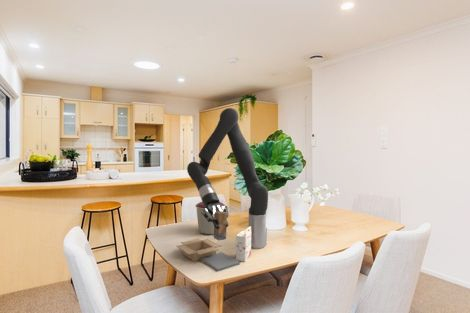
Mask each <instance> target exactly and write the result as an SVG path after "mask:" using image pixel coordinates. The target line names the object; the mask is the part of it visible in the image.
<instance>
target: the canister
mask: <svg viewBox="0 0 470 313" xmlns="http://www.w3.org/2000/svg"><path fill="white" fill-rule="evenodd" d="M219 202H220V204H221V205H222V206H224V207H225V206H226V204H224V203H223V202H222V201H219ZM195 208H196V215H197V216H196V217H197V226H198V231H199V232H200V233H201V234H204V235H214V224H213V222H208V221H207V219H206V218H205V217H204V216H203V214H202V213H201V212H202V211H203V209H206V208H205V206H204V204H203V202H202V201H200V202H198V203H196V204H195ZM222 211H223V210H222ZM209 214H210V213H209Z"/></svg>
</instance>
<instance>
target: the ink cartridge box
mask: <svg viewBox="0 0 470 313" xmlns="http://www.w3.org/2000/svg"><path fill="white" fill-rule="evenodd" d="M248 230H249V231H248ZM251 256H252V247H251V226H250V227H247V228H246V229H245V230H242V231H240V232H239V233H238V234H237V235H236V236H235V260H237V261H239V262H244V263H245V262H247V260H248V259H249V258H250V257H251Z"/></svg>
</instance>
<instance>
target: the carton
mask: <svg viewBox="0 0 470 313" xmlns="http://www.w3.org/2000/svg"><path fill="white" fill-rule="evenodd" d="M180 243H181V244H180V245H176V247H177V249H179V250H180V251H181V253H182V254H183V255H184V256H186V257H187V258H188V259H190V260H192V261H193V262H197V261H201V260H200V258H202V257H206V256H209V255H213V254H216V253H217V251H218V250H219V249H218V248H219V247H222V246H221V245H220V244H219V243H216V242H215V241H213V240H211V239H209V238H206V239H199V238H196V239H195V238H194V239H191V240H186V241H181V242H180Z"/></svg>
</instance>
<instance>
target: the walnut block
mask: <svg viewBox="0 0 470 313" xmlns="http://www.w3.org/2000/svg"><path fill="white" fill-rule="evenodd" d="M215 216H216V220H217V221H218V223H219V225H220V228H219V229H216V228H215V226H214V234H213V239H215V240H217V241H218V242H220V241H222V240H226V239H227V228H226V224H227V221H228V220H227V219H228V217H227V213H226V212H223V211H218V212H215Z"/></svg>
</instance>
